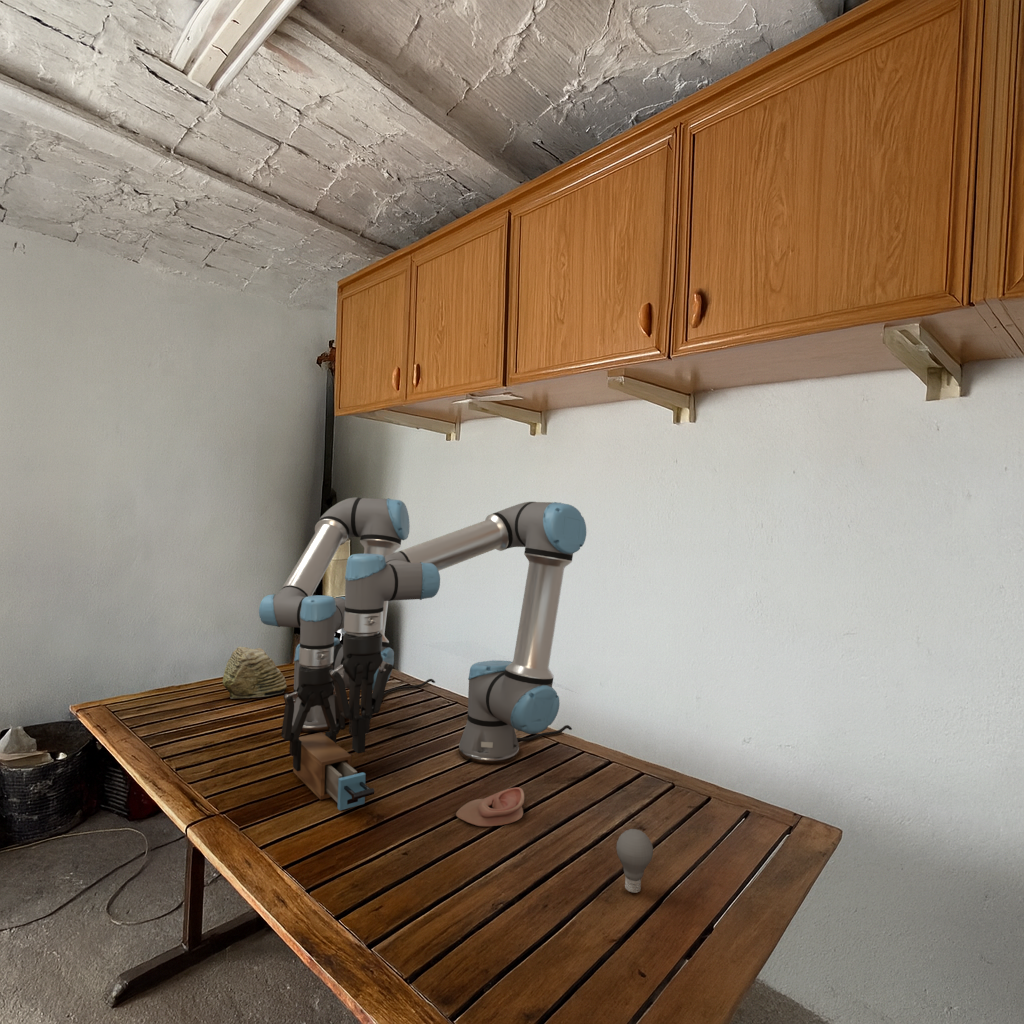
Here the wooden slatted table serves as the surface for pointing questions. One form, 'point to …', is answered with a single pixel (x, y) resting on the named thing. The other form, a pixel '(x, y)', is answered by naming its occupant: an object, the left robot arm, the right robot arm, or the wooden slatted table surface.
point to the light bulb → (634, 857)
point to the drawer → (346, 785)
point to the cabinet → (318, 761)
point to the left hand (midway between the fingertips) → (312, 764)
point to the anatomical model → (494, 808)
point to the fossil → (252, 674)
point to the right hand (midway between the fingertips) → (358, 750)
